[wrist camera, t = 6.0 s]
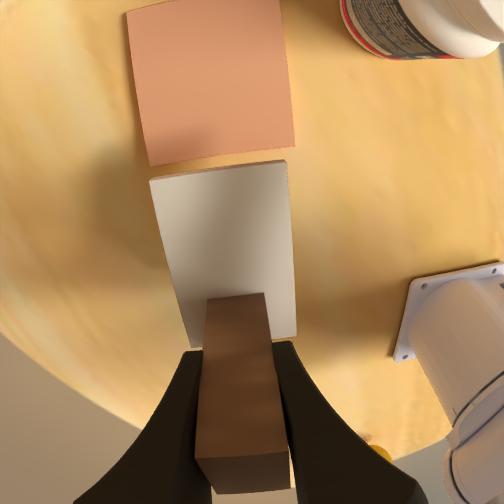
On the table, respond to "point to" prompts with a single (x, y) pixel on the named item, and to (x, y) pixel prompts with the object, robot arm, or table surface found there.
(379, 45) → the pill bottle
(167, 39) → the tile
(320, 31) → the table surface
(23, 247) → the table surface
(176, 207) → the brown grey l-shaped block
